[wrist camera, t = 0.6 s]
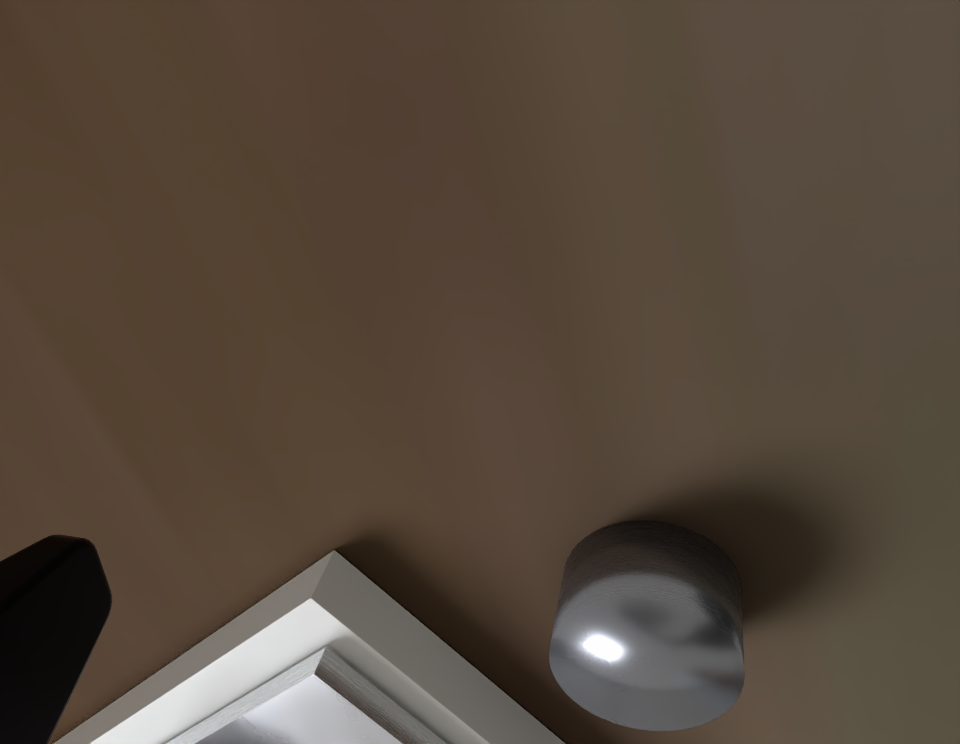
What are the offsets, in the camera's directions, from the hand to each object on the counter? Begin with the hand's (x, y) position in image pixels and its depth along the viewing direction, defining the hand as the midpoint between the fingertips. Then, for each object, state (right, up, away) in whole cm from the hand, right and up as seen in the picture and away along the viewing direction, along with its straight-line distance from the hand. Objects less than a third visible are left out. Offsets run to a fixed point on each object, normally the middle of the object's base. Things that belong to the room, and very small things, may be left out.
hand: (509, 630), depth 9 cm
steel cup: (+5, -4, +17) cm, 18 cm away
